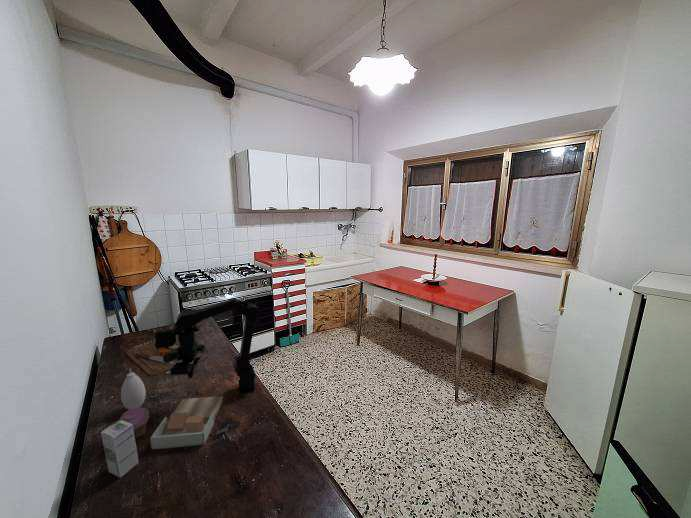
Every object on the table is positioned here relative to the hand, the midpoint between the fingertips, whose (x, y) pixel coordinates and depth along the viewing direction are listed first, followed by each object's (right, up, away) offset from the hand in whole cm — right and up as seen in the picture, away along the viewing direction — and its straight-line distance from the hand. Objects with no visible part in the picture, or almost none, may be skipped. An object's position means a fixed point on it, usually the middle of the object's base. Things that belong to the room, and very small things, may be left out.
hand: (190, 377), depth 111 cm
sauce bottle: (-22, -12, -1) cm, 26 cm away
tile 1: (+2, -12, -11) cm, 16 cm away
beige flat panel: (+5, -13, -3) cm, 14 cm away
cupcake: (-12, -15, -14) cm, 24 cm away
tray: (+6, -15, -14) cm, 21 cm away
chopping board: (-39, -6, +42) cm, 58 cm away
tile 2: (+9, -11, -12) cm, 19 cm away
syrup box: (-6, -17, -26) cm, 32 cm away
